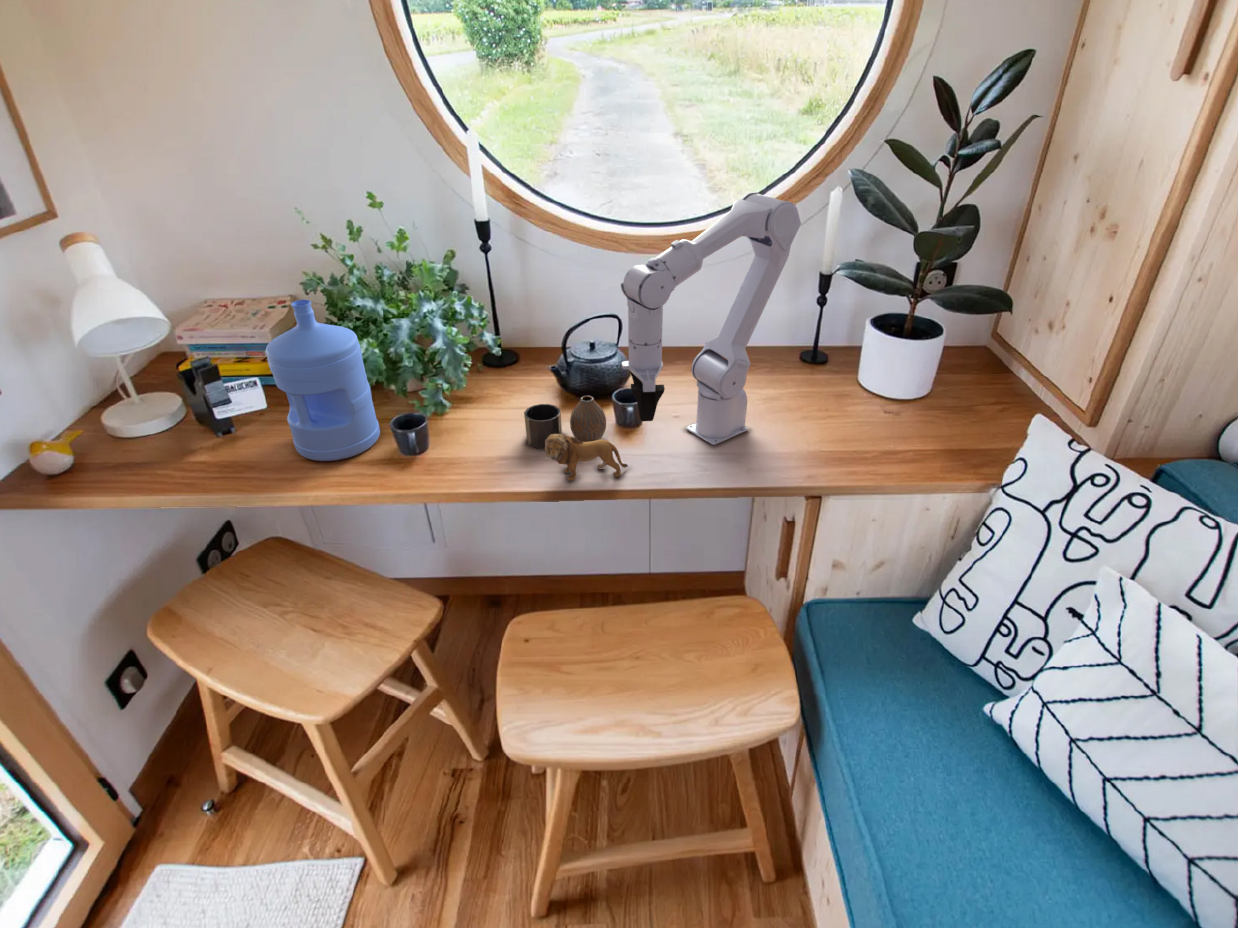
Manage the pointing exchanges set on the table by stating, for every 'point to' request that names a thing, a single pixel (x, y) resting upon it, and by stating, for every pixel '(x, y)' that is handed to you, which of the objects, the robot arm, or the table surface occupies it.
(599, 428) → the vase
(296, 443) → the water jug
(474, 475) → the table surface
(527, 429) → the tea cup
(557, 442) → the lion figurine
